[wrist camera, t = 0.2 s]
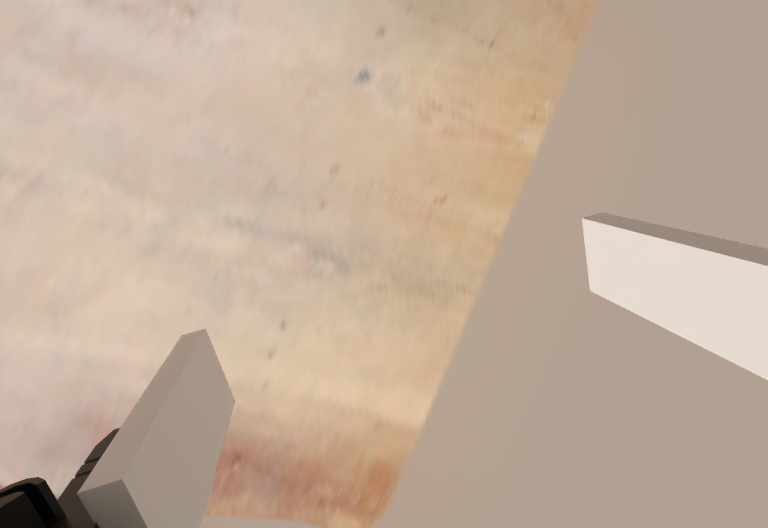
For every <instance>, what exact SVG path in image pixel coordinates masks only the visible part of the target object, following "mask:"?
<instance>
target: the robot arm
mask: <svg viewBox="0 0 768 528" xmlns="http://www.w3.org/2000/svg"><path fill="white" fill-rule="evenodd" d="M582 223H583V232H584V240H585V249H586V258H587V267H588V275H589V284H590V290H591V291H592V292H594V293H596V294H598V295H600V296H602V297H604V298H606V299H608V300H610V301H612V302H614V303H616V304H618V305H620V306H622V307H624V308H626V309H628V310H630V311H632V312H634V313H636V314H638V315H640V316H642V317H644V318H646V319H648V320H650V321H652V322H654V323H656V324H657V325H660V326H661V327H664V328H665V329H667V330H669V331H672V332H673V333H675V334H677V335H679V336H681V337H683V338H685V339H687V340H689V341H691V342H693V343H695V344H697V345H699V346H701V347H703V348H705V349H707V350H709V351H711V352H713V353H715V354H717V355H719V356H721V357H723V358H725V359H727V360H729V361H731V362H733V363H735V364H737V365H739V366H741V367H743V368H745V369H747V370H749V371H751V372H753V373H755V374H757V375H759V376H761V377H763V378H765V379H767V380H768V249H766V248H761V247H757V246H752V245H747V244H743V243H739V242H734V241H729V240H725V239H720V238H716V237H711V236H707V235H702V234H697V233H693V232H688V231H683V230H679V229H674V228H670V227H665V226H661V225H657V224H652V223H648V222H643V221H638V220H634V219H629V218H624V217H620V216H616V215H611V214H607V213H599V214H595V215H592V216H589V217H585V218H582ZM234 403H235V400H234V397H233V395H232V392H231V390H230V387H229V385H228V383H227V380H226V378H225V375H224V373H223V370H222V368H221V365H220V363H219V360H218V358H217V355H216V353H215V350H214V348H213V345H212V343H211V341H210V338H209V336H208V333H207V331H206V329H203V330H199V331H196V332H193V333H189V334H186V335H182V336H181V337H180V339H179V340H178V342H177V343H176V345H175V346H174V348H173V349H172V351H171V352H170V354H169V356H168V357H167V359H166V360H165V362H164V363H163V365H162V366H161V368H160V369H159V371H158V372H157V374H156V375H155V377H154V378H153V380H152V381H151V383H150V384H149V386H148V387H147V389H146V390H145V392H144V393H143V395H142V396H141V398H140V399H139V401H138V402H137V404H136V405H135V407H134V408H133V410H132V411H131V413H130V414H129V416H128V417H127V419H126V420H125V422H124V423H123V425H122V426H121V428H118V429H115V430H113V431H112V432H111V433H110V434H109V435H107V436H106V437H105V438H104V439H103V440H102V441H101V442H100V443H99V444H97V445H96V446H95V448H94V449H93V451H92V452H91V453H90V455H89V456H88V458H87V459H86V460H85V462H84V463H85V465H82V466H81V468H80V469H79V470H78V472H77V473H76V475H75V478H74V479H72V480H71V482H70V483H69V485H68V486H67V487H66V489H65V490H64V492H63V493H62V495H61V496H60V497H59V499H58V500H57V499H56V498H55V496H54V494H53V493H52V491H51V489H50V488H49V486H48V484H47V483H46V481H45V480H44V479H42V478H39V477H36V478H29V479H25V480H22V481H19V482H16V483H14V484H11V485H9V486H7V487H5V488H3V489H1V490H0V528H199V527H200V524H201V520H202V517H203V513H204V509H205V506H206V502H207V499H208V495H209V492H210V488H211V485H212V481H213V477H214V474H215V470H216V467H217V463H218V460H219V456H220V453H221V449H222V445H223V442H224V438H225V435H226V431H227V428H228V424H229V421H230V417H231V414H232V410H233V406H234Z"/></svg>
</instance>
